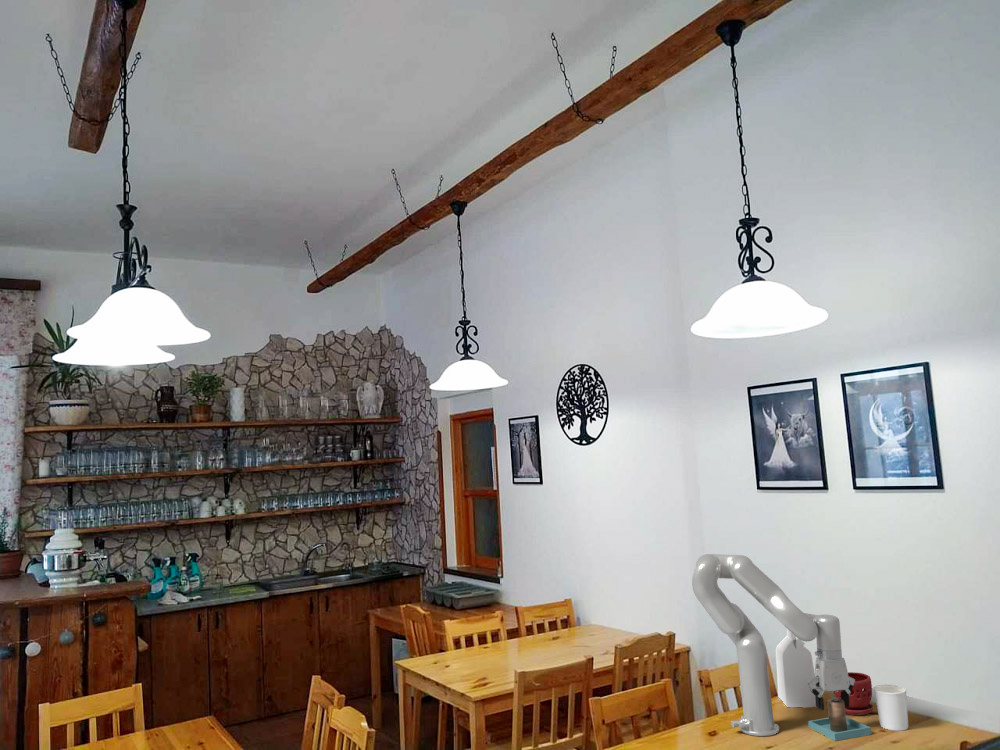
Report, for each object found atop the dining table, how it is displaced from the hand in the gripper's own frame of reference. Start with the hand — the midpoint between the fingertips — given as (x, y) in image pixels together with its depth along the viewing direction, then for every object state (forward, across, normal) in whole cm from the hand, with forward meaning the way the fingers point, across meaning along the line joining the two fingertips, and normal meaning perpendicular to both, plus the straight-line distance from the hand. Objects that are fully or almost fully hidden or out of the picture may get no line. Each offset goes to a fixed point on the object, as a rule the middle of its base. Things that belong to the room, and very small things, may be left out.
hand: (832, 707), depth 256 cm
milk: (+8, +8, +30) cm, 32 cm away
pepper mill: (+7, +1, -1) cm, 7 cm away
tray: (+7, +1, -1) cm, 8 cm away
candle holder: (+7, +19, -5) cm, 21 cm away
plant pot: (+7, +18, +13) cm, 24 cm away
